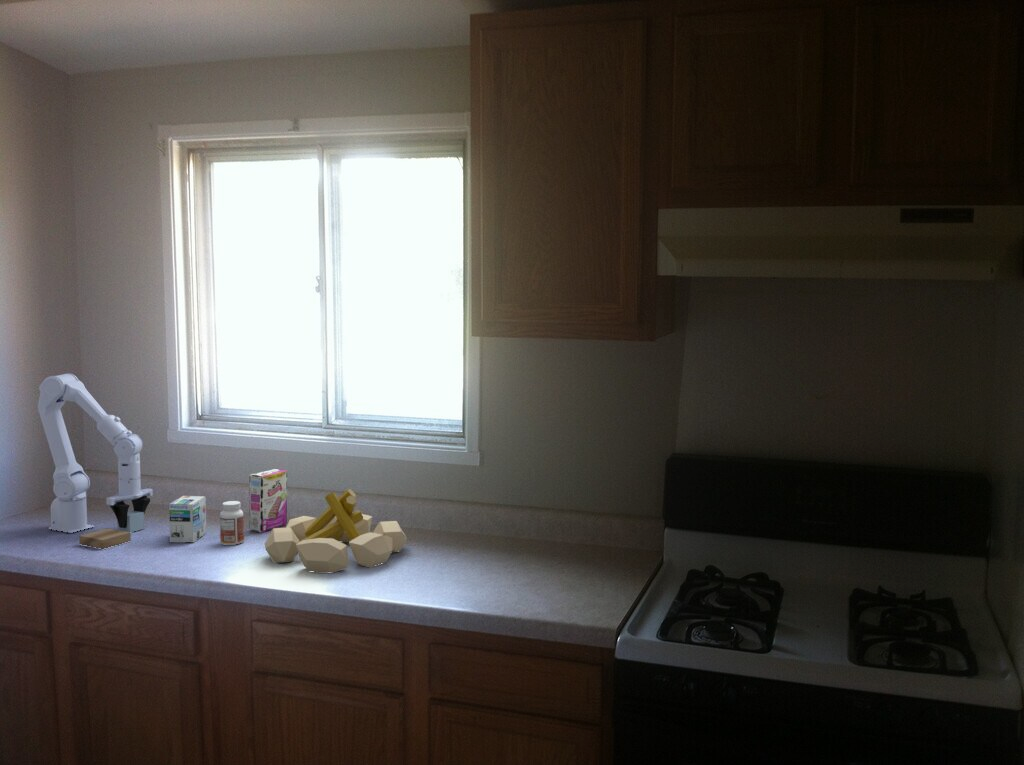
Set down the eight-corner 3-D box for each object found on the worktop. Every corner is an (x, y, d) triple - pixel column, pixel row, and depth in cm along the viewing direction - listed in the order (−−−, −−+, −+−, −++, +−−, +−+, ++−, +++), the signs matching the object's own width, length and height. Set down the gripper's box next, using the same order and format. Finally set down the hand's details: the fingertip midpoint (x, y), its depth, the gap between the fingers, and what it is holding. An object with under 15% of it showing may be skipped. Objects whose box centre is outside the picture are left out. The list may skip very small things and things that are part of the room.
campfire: (429, 551, 251) (429, 488, 249) (339, 583, 222) (339, 512, 221) (333, 531, 270) (333, 473, 268) (240, 558, 242) (239, 493, 240)
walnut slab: (79, 546, 251) (79, 535, 251) (107, 538, 259) (107, 528, 259) (103, 551, 247) (102, 540, 247) (130, 543, 255) (130, 532, 255)
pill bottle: (238, 538, 260) (238, 499, 259) (247, 543, 255) (247, 503, 254) (216, 542, 256) (216, 502, 255) (225, 547, 251) (225, 506, 250)
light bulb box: (193, 543, 255) (192, 504, 253) (169, 543, 255) (168, 503, 254) (207, 533, 265) (206, 495, 264) (183, 532, 265) (182, 495, 264)
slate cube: (117, 531, 266) (117, 513, 265) (131, 527, 270) (131, 510, 270) (130, 533, 264) (129, 515, 263) (144, 529, 268) (143, 512, 268)
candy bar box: (262, 533, 265) (261, 476, 264) (248, 531, 268) (248, 474, 266) (288, 524, 275) (287, 469, 274) (274, 522, 278) (274, 468, 276)
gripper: (118, 484, 257) (119, 532, 259) (159, 475, 270) (161, 521, 272) (100, 481, 260) (101, 529, 262) (142, 472, 273) (143, 518, 275)
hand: (130, 525), depth 267 cm, fingers closed on slate cube, 5 cm apart
